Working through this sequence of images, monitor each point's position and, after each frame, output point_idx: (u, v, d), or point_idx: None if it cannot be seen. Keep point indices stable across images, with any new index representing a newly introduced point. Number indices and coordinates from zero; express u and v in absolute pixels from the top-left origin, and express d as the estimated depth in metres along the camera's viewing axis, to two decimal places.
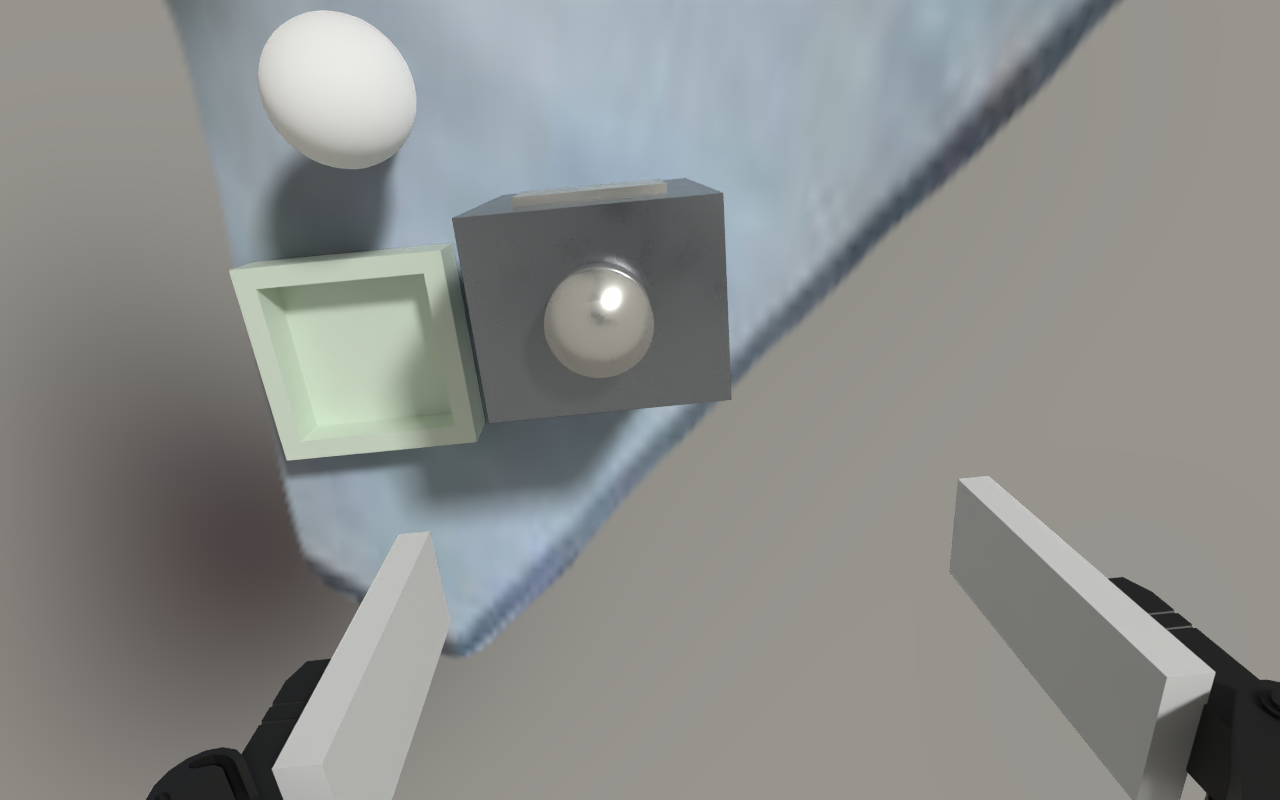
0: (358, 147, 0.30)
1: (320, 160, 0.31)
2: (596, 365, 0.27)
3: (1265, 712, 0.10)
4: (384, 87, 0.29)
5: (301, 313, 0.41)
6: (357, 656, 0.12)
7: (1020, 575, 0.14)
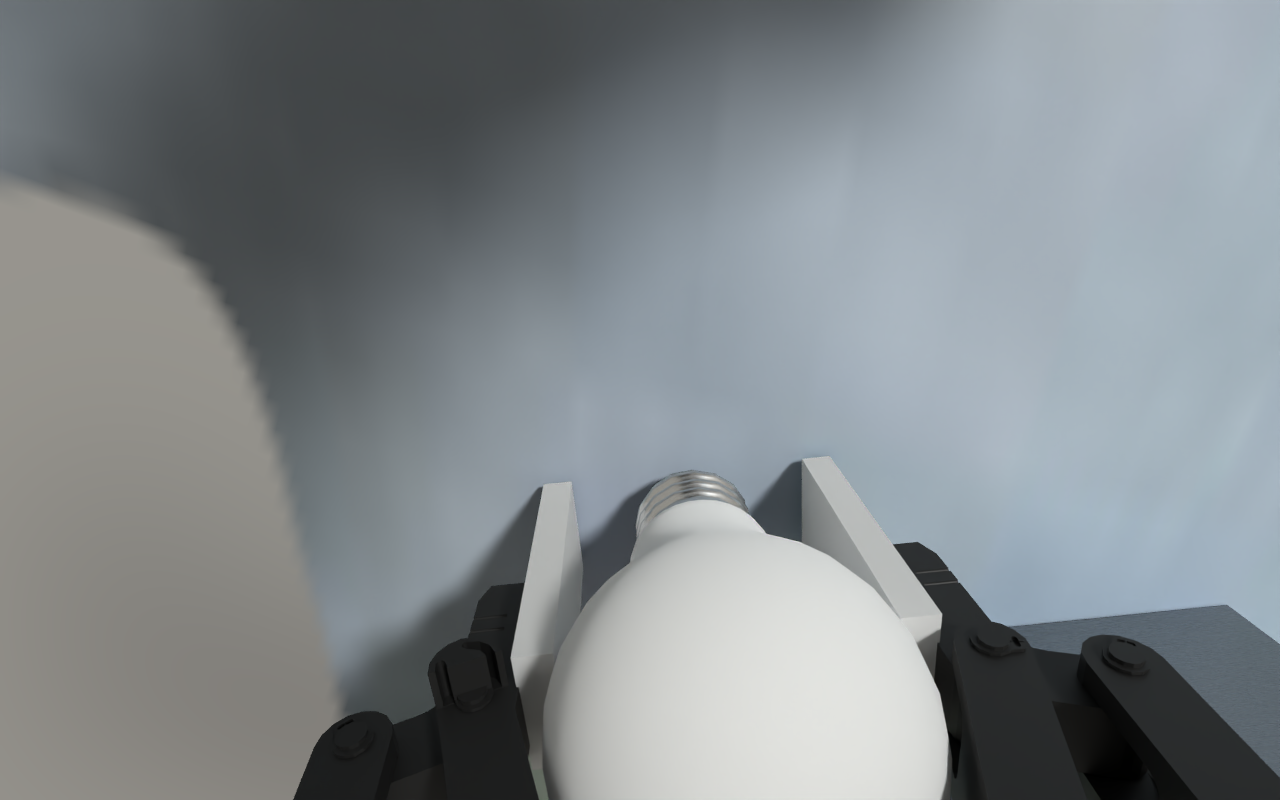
0: None
1: None
2: None
3: (976, 651, 0.11)
4: None
5: None
6: (547, 576, 0.14)
7: (833, 542, 0.16)
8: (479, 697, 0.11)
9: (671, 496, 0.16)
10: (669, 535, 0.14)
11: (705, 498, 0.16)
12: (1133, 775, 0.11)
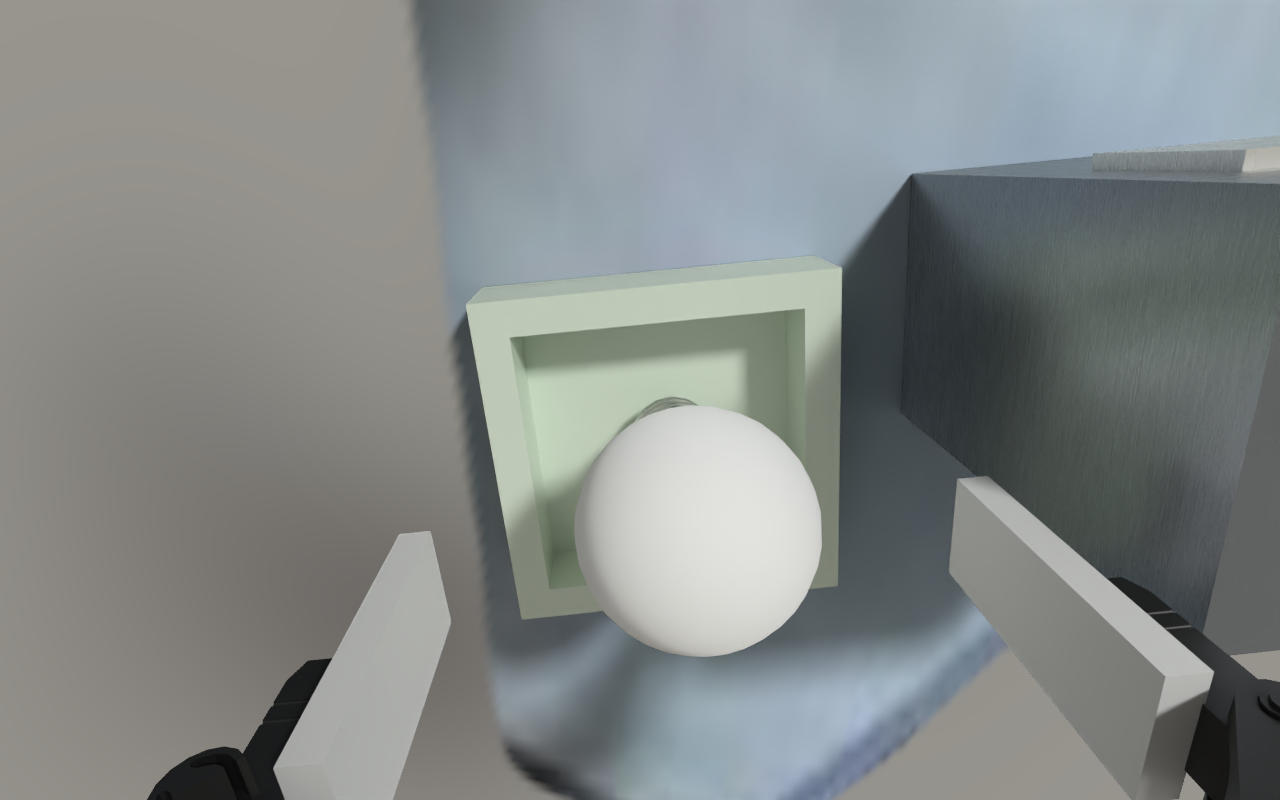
0: None
1: None
2: None
3: (1263, 711, 0.10)
4: (813, 559, 0.16)
5: (553, 374, 0.25)
6: (358, 655, 0.12)
7: (1019, 575, 0.14)
8: None
9: (655, 410, 0.23)
10: None
11: None
12: None
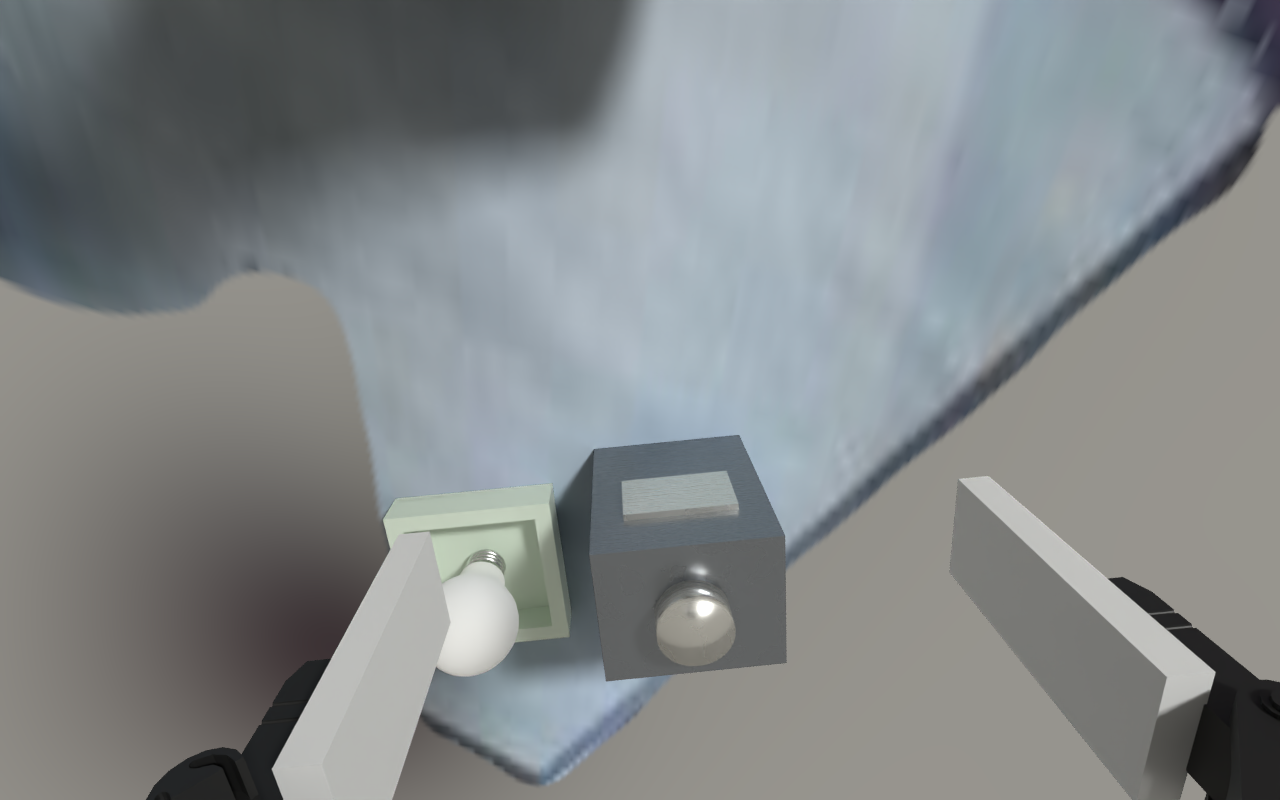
0: (484, 672, 0.44)
1: None
2: (692, 658, 0.38)
3: (1265, 712, 0.10)
4: (503, 641, 0.44)
5: None
6: (357, 656, 0.12)
7: (1020, 575, 0.14)
8: None
9: (473, 559, 0.50)
10: (462, 574, 0.48)
11: (484, 560, 0.50)
12: None
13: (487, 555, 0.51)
